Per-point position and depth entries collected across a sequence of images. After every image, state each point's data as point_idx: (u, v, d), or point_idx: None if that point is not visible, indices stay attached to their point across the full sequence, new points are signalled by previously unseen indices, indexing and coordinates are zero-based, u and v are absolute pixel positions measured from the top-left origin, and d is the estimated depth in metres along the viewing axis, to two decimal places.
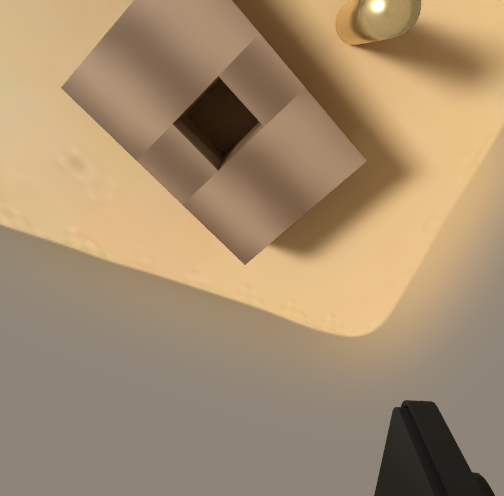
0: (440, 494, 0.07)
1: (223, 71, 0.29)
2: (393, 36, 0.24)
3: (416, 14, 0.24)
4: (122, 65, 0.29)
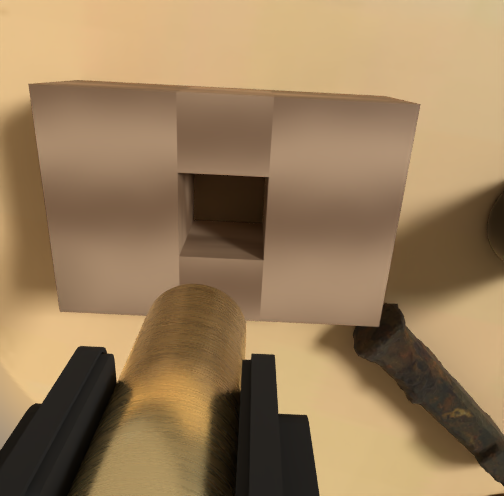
0: (245, 423, 0.08)
1: (262, 268, 0.23)
2: None
3: None
4: (365, 188, 0.22)
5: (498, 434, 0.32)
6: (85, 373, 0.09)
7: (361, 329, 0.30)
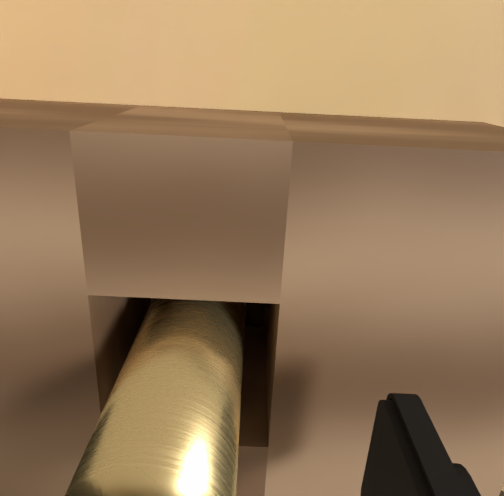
0: (420, 482, 0.07)
1: (266, 459, 0.12)
2: None
3: None
4: (480, 325, 0.10)
5: None
6: None
7: None
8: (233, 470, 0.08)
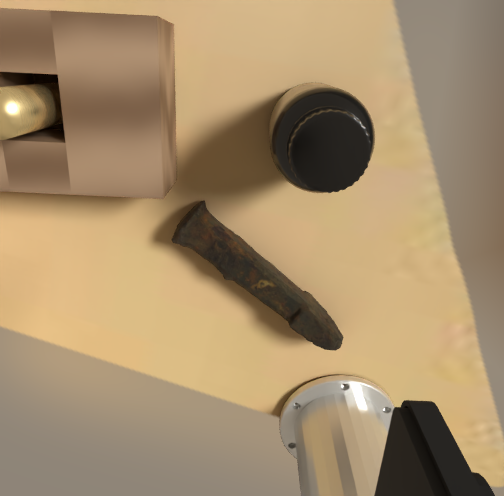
0: (440, 494, 0.07)
1: (65, 149, 0.31)
2: None
3: None
4: (130, 83, 0.29)
5: (303, 301, 0.39)
6: None
7: (179, 223, 0.38)
8: (25, 106, 0.27)
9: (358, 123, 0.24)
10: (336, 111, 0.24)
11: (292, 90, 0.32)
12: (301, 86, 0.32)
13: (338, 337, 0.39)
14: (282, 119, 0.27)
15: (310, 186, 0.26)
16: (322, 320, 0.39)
